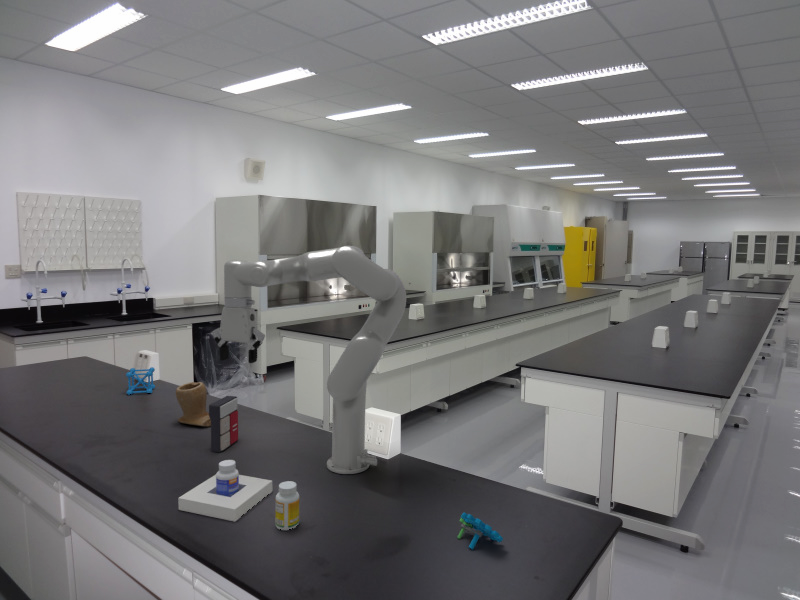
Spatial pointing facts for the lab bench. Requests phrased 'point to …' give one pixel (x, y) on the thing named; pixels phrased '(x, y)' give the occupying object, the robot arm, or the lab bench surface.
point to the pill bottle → (227, 479)
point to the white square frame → (225, 498)
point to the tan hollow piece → (193, 404)
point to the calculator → (223, 423)
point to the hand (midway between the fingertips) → (238, 360)
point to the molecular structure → (140, 380)
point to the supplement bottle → (287, 506)
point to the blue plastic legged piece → (477, 529)
